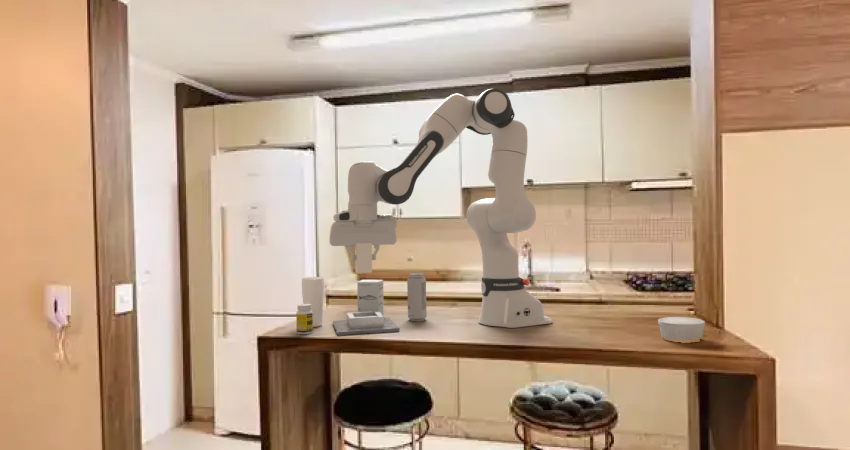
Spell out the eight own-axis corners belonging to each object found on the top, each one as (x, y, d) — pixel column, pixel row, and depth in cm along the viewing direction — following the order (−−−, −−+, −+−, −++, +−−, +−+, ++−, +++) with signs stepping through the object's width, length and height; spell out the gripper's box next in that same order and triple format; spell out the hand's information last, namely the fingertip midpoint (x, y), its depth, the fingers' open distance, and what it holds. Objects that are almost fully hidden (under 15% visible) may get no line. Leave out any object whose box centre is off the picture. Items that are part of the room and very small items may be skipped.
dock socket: (388, 320, 183) (388, 308, 183) (399, 331, 166) (399, 317, 165) (332, 324, 179) (332, 311, 179) (337, 335, 161) (337, 321, 161)
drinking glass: (314, 323, 181) (313, 276, 181) (329, 325, 177) (328, 277, 177) (298, 326, 176) (297, 278, 175) (313, 328, 172) (312, 279, 171)
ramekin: (649, 338, 152) (648, 318, 152) (679, 334, 156) (679, 315, 156) (683, 346, 141) (682, 325, 141) (714, 342, 146) (714, 321, 146)
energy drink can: (410, 318, 187) (409, 272, 186) (428, 318, 186) (427, 272, 185) (406, 321, 181) (405, 274, 181) (424, 321, 180) (423, 274, 179)
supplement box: (357, 320, 185) (356, 281, 184) (363, 316, 192) (362, 279, 192) (379, 320, 183) (378, 281, 183) (384, 316, 191) (383, 279, 190)
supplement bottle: (309, 334, 163) (308, 305, 163) (293, 334, 164) (293, 305, 164) (315, 331, 168) (315, 303, 168) (300, 331, 169) (300, 303, 169)
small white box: (370, 271, 174) (369, 242, 174) (372, 272, 170) (371, 242, 170) (355, 271, 173) (355, 242, 173) (357, 273, 169) (356, 243, 169)
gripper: (394, 214, 177) (395, 258, 177) (328, 215, 172) (329, 260, 172) (398, 214, 171) (399, 259, 171) (330, 215, 166) (330, 262, 166)
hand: (363, 260), depth 172 cm, fingers closed on small white box, 4 cm apart
